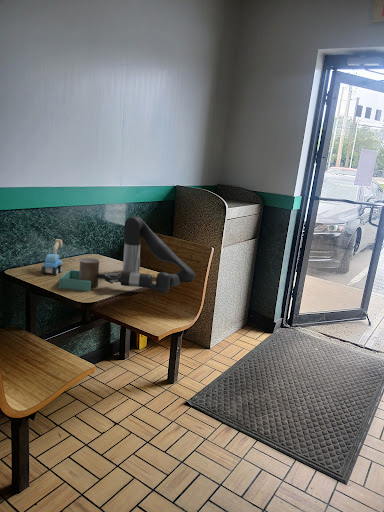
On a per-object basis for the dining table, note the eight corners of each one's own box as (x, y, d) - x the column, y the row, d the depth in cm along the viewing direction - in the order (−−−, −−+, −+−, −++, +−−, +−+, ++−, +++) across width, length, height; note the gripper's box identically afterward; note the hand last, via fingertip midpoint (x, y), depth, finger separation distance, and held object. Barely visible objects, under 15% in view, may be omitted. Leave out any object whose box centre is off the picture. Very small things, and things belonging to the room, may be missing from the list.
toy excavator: (67, 268, 245) (68, 239, 241) (55, 276, 229) (56, 245, 225) (52, 266, 246) (53, 237, 241) (40, 274, 229) (40, 243, 225)
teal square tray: (98, 281, 228) (98, 272, 227) (89, 291, 212) (90, 282, 210) (69, 278, 228) (70, 269, 227) (58, 288, 212) (59, 278, 211)
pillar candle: (101, 287, 219) (102, 259, 216) (83, 289, 213) (84, 260, 210) (92, 282, 227) (94, 254, 223) (75, 284, 220) (76, 256, 217)
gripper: (128, 290, 212) (93, 286, 212) (132, 282, 224) (100, 279, 225) (129, 276, 210) (94, 272, 210) (133, 268, 223) (100, 265, 223)
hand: (97, 275), depth 217 cm, fingers closed
